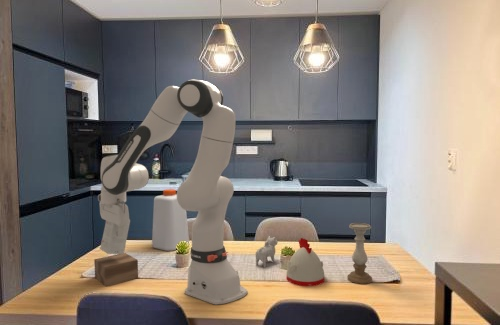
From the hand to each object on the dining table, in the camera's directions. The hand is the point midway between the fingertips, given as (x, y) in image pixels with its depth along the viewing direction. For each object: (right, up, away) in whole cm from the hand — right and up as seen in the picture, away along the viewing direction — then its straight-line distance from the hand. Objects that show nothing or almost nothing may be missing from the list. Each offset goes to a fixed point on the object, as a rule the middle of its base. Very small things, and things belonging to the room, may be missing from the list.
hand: (114, 233), depth 139 cm
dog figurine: (+58, -16, +16) cm, 62 cm away
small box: (-1, -7, -1) cm, 7 cm away
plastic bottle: (+12, -15, +43) cm, 46 cm away
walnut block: (0, -17, +1) cm, 17 cm away
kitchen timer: (+72, -17, -2) cm, 74 cm away
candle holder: (+91, -16, -4) cm, 93 cm away
